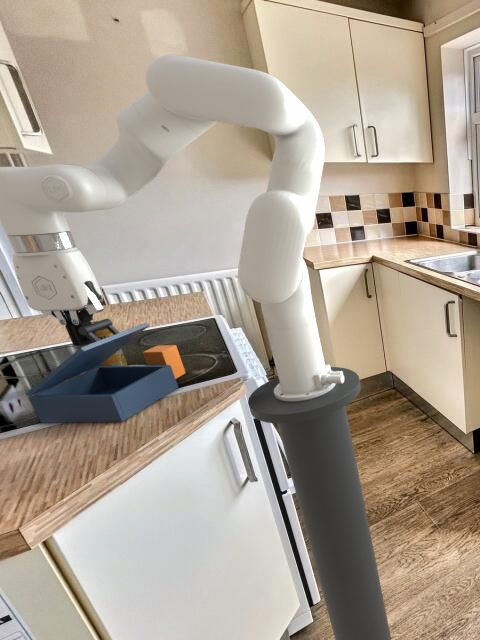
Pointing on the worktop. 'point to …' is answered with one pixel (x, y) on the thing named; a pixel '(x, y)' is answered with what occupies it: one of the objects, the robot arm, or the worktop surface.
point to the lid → (88, 353)
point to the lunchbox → (104, 394)
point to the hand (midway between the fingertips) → (86, 342)
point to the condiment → (116, 358)
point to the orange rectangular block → (165, 358)
